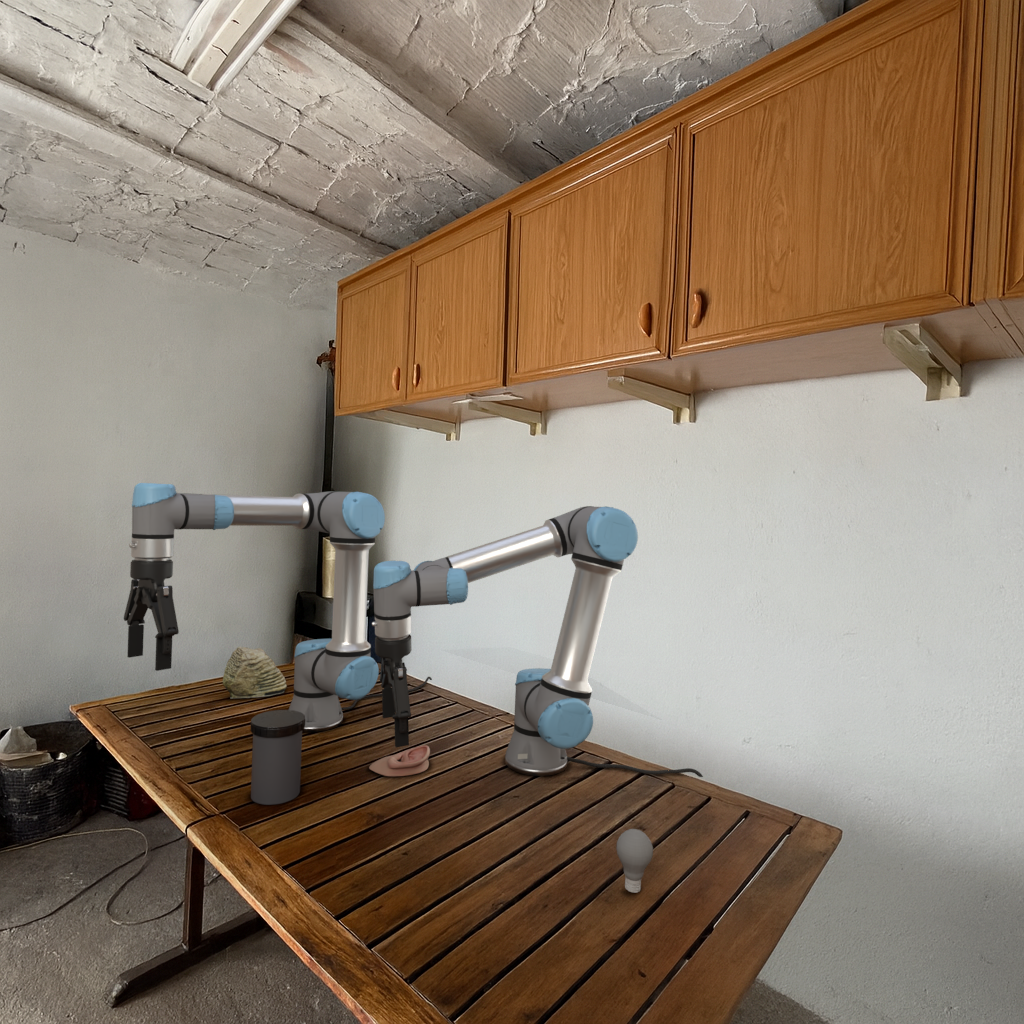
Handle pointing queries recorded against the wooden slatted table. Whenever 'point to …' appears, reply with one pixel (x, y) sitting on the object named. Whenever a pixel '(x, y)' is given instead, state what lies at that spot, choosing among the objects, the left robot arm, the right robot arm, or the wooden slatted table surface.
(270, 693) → the fossil
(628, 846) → the light bulb
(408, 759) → the anatomical model
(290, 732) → the lid
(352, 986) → the wooden slatted table surface
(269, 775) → the jar
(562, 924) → the wooden slatted table surface
